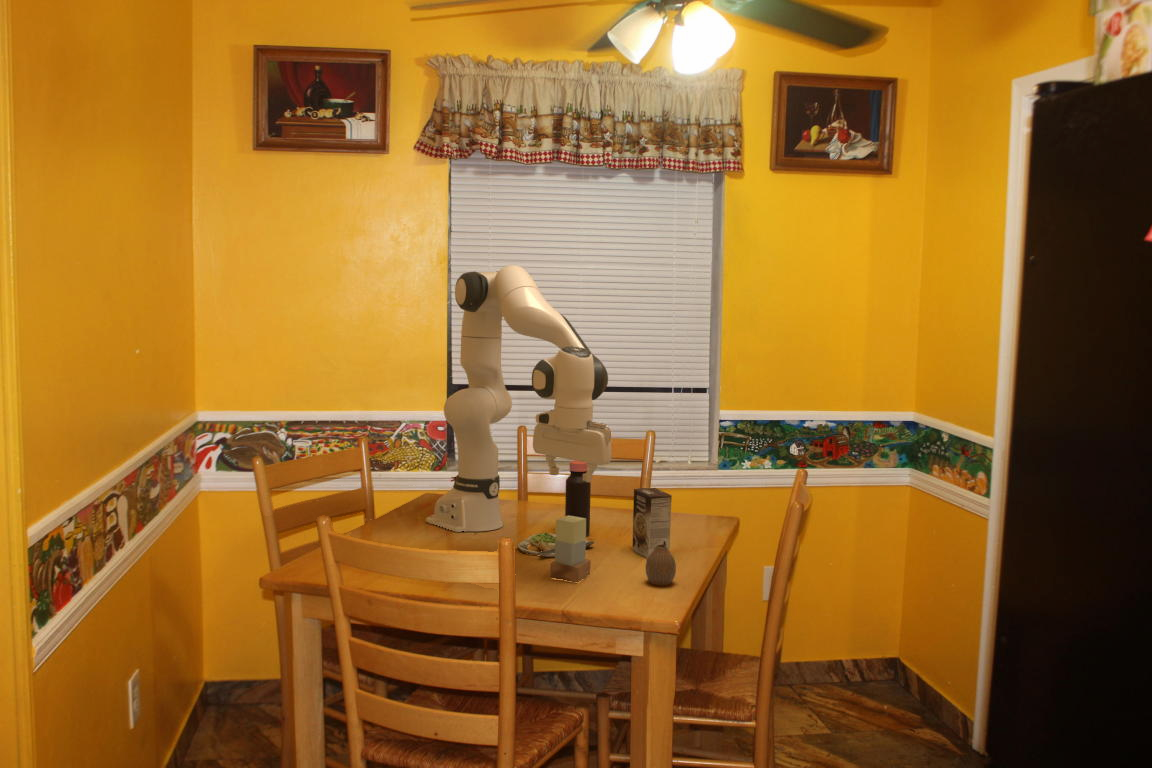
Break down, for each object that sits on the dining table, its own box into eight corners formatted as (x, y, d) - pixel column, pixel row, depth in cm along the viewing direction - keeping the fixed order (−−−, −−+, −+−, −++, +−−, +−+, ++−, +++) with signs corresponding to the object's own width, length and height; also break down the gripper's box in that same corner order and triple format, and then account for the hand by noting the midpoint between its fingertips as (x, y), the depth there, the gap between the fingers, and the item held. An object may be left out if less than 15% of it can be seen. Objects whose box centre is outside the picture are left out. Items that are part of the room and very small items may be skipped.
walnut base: (550, 580, 214) (550, 563, 214) (562, 572, 220) (562, 555, 220) (578, 584, 211) (578, 567, 211) (590, 576, 218) (590, 559, 217)
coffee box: (631, 550, 239) (632, 488, 237) (653, 548, 242) (655, 486, 240) (647, 560, 231) (649, 496, 229) (670, 557, 233) (672, 494, 232)
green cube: (568, 536, 219) (568, 515, 218) (585, 539, 216) (586, 518, 215) (555, 540, 214) (555, 519, 214) (573, 544, 212) (573, 522, 211)
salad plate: (570, 566, 226) (570, 547, 225) (504, 556, 233) (504, 538, 232) (599, 546, 244) (599, 529, 243) (537, 538, 250) (537, 521, 250)
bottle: (591, 532, 256) (592, 460, 254) (587, 538, 249) (589, 465, 247) (566, 530, 257) (568, 459, 255) (562, 537, 250) (564, 463, 248)
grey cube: (568, 557, 219) (569, 536, 218) (585, 561, 216) (585, 540, 215) (554, 562, 215) (555, 540, 214) (571, 566, 212) (571, 544, 211)
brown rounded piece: (642, 578, 216) (644, 541, 215) (672, 578, 216) (673, 541, 216) (647, 588, 209) (648, 550, 208) (678, 588, 210) (679, 549, 209)
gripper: (618, 423, 209) (615, 483, 211) (546, 412, 221) (544, 469, 222) (603, 426, 204) (599, 488, 206) (530, 414, 216) (527, 473, 217)
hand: (570, 478), depth 214 cm, fingers open, 8 cm apart
